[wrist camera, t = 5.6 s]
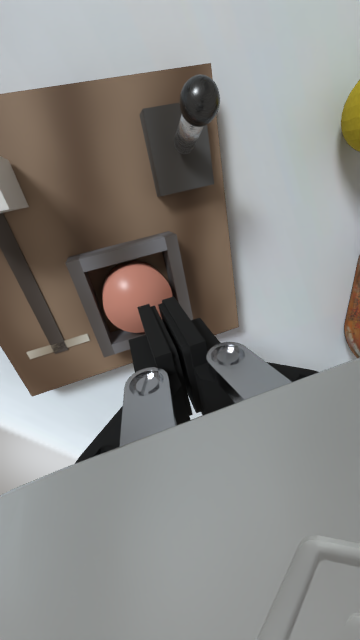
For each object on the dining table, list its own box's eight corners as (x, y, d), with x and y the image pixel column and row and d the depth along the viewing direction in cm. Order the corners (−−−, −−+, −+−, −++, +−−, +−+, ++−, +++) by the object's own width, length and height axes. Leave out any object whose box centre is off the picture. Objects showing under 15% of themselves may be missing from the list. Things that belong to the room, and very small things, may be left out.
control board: (198, 77, 17) (225, 45, 13) (228, 318, 25) (250, 337, 22) (-114, 125, 14) (-183, 101, 10) (37, 381, 22) (26, 414, 19)
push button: (157, 253, 18) (164, 258, 17) (171, 310, 20) (178, 321, 19) (92, 270, 18) (92, 278, 16) (113, 328, 20) (115, 341, 18)
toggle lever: (192, 128, 15) (219, 59, 11) (201, 160, 16) (230, 105, 11) (163, 134, 15) (179, 65, 11) (172, 166, 15) (190, 112, 11)
